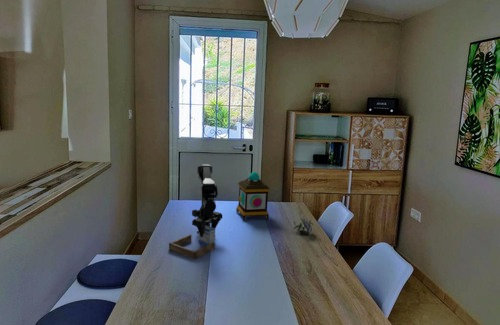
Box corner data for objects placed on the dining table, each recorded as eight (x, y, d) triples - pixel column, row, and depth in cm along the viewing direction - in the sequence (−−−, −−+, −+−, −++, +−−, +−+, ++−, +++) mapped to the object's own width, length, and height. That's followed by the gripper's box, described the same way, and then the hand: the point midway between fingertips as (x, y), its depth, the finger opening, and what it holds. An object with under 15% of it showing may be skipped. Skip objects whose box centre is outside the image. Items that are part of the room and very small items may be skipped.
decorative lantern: (233, 211, 247) (235, 168, 242) (261, 210, 253) (263, 168, 248) (241, 221, 229) (244, 175, 223) (271, 220, 234) (274, 174, 229)
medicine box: (198, 242, 194) (198, 226, 192) (203, 239, 198) (204, 224, 196) (209, 245, 190) (210, 230, 188) (215, 243, 194) (215, 227, 192)
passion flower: (308, 243, 214) (314, 232, 206) (290, 238, 214) (296, 227, 206) (309, 227, 222) (315, 216, 214) (292, 223, 222) (297, 211, 214)
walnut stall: (189, 240, 195) (190, 234, 195) (214, 248, 186) (215, 242, 186) (169, 249, 182) (169, 243, 182) (194, 259, 173) (194, 252, 173)
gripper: (207, 199, 202) (206, 226, 205) (184, 207, 187) (183, 235, 190) (223, 203, 197) (222, 230, 199) (201, 211, 181) (200, 241, 184)
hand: (207, 234), depth 193 cm, fingers open, 9 cm apart
